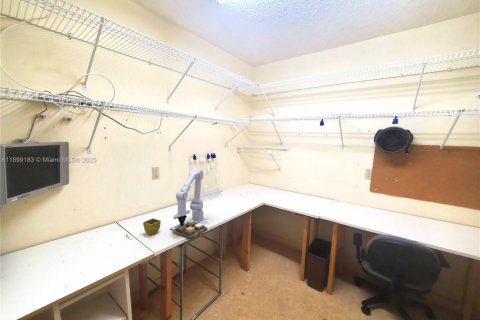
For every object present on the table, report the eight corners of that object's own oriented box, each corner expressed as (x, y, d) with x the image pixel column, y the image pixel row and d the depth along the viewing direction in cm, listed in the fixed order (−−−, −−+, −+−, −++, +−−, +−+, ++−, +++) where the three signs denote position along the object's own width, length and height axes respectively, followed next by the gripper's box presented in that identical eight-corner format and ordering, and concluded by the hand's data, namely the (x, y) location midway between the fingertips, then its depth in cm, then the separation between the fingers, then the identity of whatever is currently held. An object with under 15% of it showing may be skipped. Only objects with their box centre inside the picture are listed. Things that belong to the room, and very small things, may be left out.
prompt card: (181, 223, 160) (181, 223, 160) (184, 224, 158) (184, 224, 158) (169, 229, 150) (169, 228, 150) (173, 230, 148) (173, 230, 148)
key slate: (182, 226, 148) (181, 223, 148) (186, 228, 146) (186, 225, 146) (177, 229, 144) (177, 225, 144) (181, 230, 142) (181, 227, 142)
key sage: (190, 222, 156) (190, 219, 156) (194, 223, 154) (194, 220, 154) (186, 224, 152) (186, 221, 152) (190, 225, 150) (190, 222, 150)
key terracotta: (189, 229, 144) (189, 226, 144) (194, 230, 142) (194, 227, 142) (185, 231, 141) (185, 228, 140) (190, 233, 138) (190, 230, 138)
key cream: (198, 226, 152) (198, 223, 152) (202, 227, 150) (202, 224, 150) (194, 228, 149) (194, 225, 148) (198, 229, 146) (198, 226, 146)
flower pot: (142, 234, 142) (142, 222, 141) (152, 229, 149) (152, 217, 148) (151, 237, 138) (151, 224, 137) (161, 232, 146) (161, 220, 145)
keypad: (189, 224, 160) (189, 220, 159) (207, 229, 151) (207, 225, 151) (172, 233, 144) (172, 228, 144) (190, 240, 135) (190, 235, 135)
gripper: (185, 203, 152) (185, 220, 153) (170, 209, 139) (170, 227, 141) (192, 205, 148) (191, 222, 150) (177, 211, 136) (177, 230, 137)
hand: (181, 225), depth 145 cm, fingers closed
